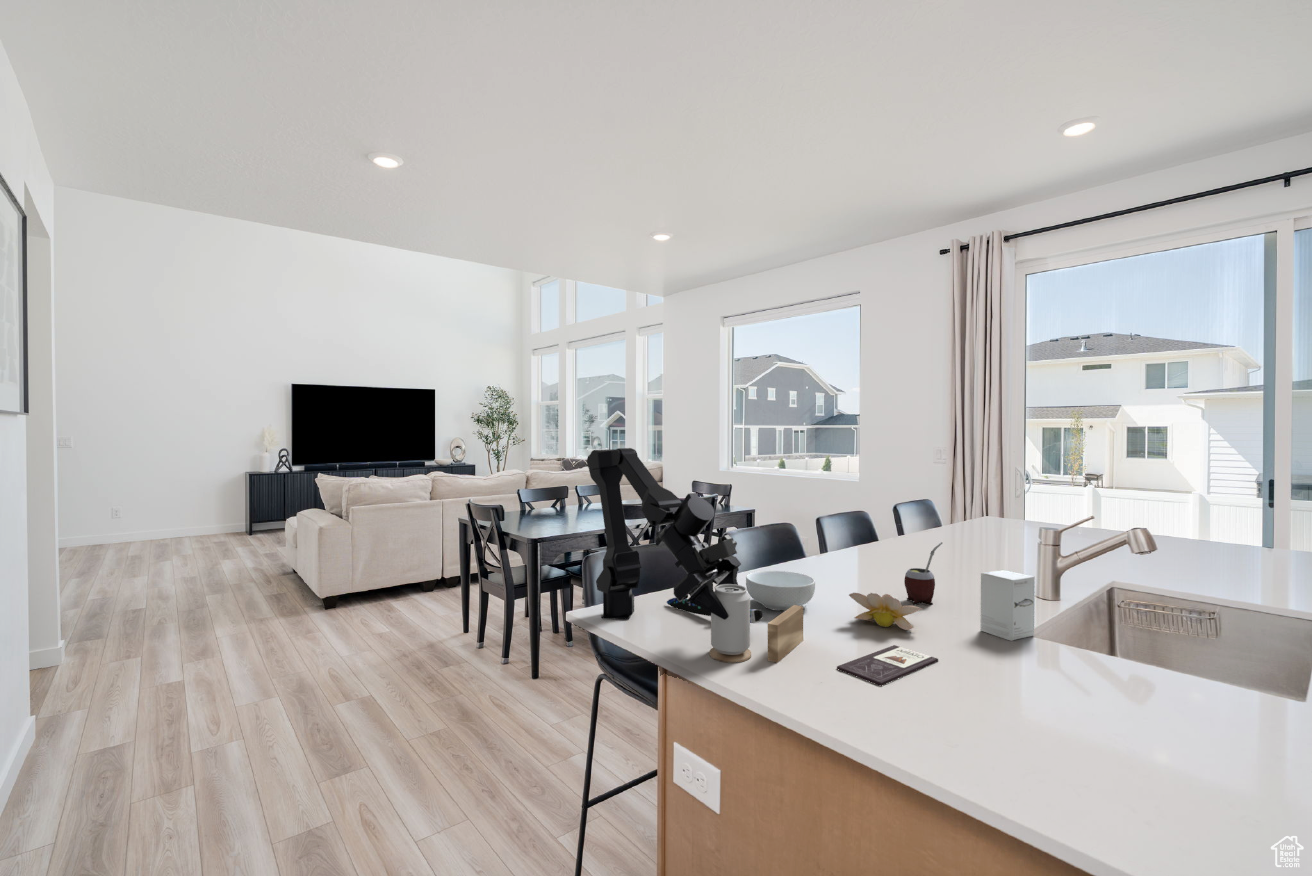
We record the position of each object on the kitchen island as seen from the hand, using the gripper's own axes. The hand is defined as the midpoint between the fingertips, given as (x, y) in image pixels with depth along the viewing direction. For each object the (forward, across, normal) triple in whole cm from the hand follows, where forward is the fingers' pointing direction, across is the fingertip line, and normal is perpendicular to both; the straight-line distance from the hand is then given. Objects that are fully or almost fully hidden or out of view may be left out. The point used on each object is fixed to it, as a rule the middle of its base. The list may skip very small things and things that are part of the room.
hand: (735, 612), depth 115 cm
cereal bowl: (+3, +35, +10) cm, 37 cm away
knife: (-4, +17, +16) cm, 24 cm away
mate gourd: (+23, +57, -11) cm, 62 cm away
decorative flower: (+21, +34, -9) cm, 41 cm away
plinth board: (+11, +8, +1) cm, 14 cm away
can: (+4, 0, +6) cm, 8 cm away
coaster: (+5, 0, +7) cm, 8 cm away
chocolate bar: (+24, +11, -12) cm, 29 cm away
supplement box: (+36, +42, -25) cm, 61 cm away
